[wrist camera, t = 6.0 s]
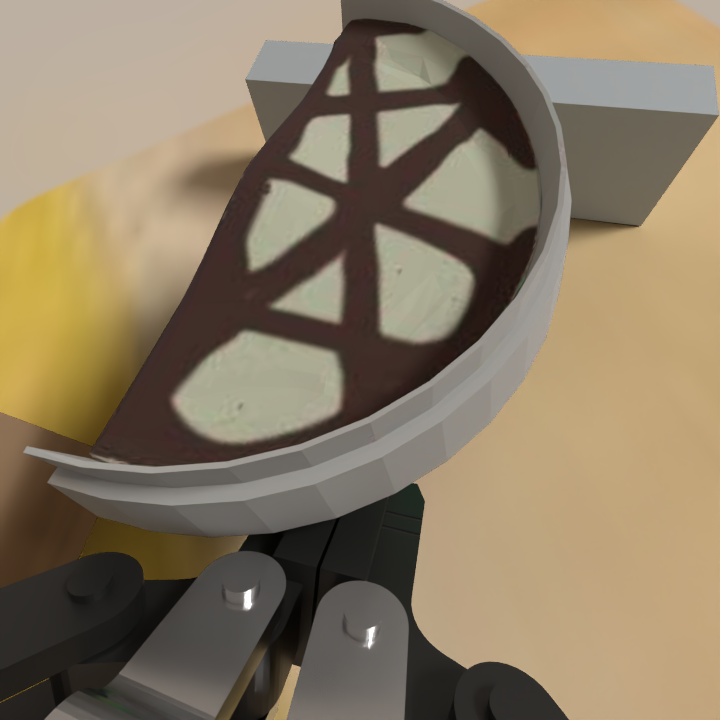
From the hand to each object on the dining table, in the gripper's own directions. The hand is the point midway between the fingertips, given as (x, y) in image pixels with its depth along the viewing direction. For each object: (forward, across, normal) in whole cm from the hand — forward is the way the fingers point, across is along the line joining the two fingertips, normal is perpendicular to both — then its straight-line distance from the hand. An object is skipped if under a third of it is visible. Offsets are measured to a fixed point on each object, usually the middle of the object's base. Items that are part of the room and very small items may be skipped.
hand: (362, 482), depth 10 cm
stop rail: (+14, 0, -7) cm, 15 cm away
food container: (+6, 0, +1) cm, 6 cm away
